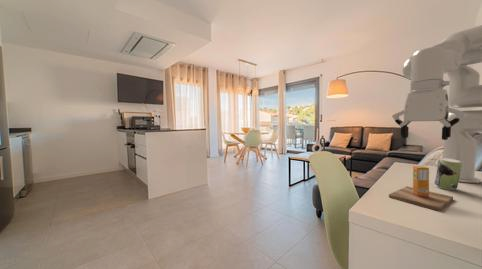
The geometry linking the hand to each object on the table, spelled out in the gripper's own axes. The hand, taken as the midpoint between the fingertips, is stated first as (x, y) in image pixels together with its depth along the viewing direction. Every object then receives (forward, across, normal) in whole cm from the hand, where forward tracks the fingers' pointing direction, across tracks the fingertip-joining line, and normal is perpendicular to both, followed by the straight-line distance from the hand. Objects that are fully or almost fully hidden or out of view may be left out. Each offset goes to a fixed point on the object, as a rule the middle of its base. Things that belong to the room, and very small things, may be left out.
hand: (423, 138), depth 61 cm
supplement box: (+20, 0, 0) cm, 20 cm away
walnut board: (+21, 0, +1) cm, 21 cm away
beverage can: (+21, -2, -21) cm, 30 cm away
